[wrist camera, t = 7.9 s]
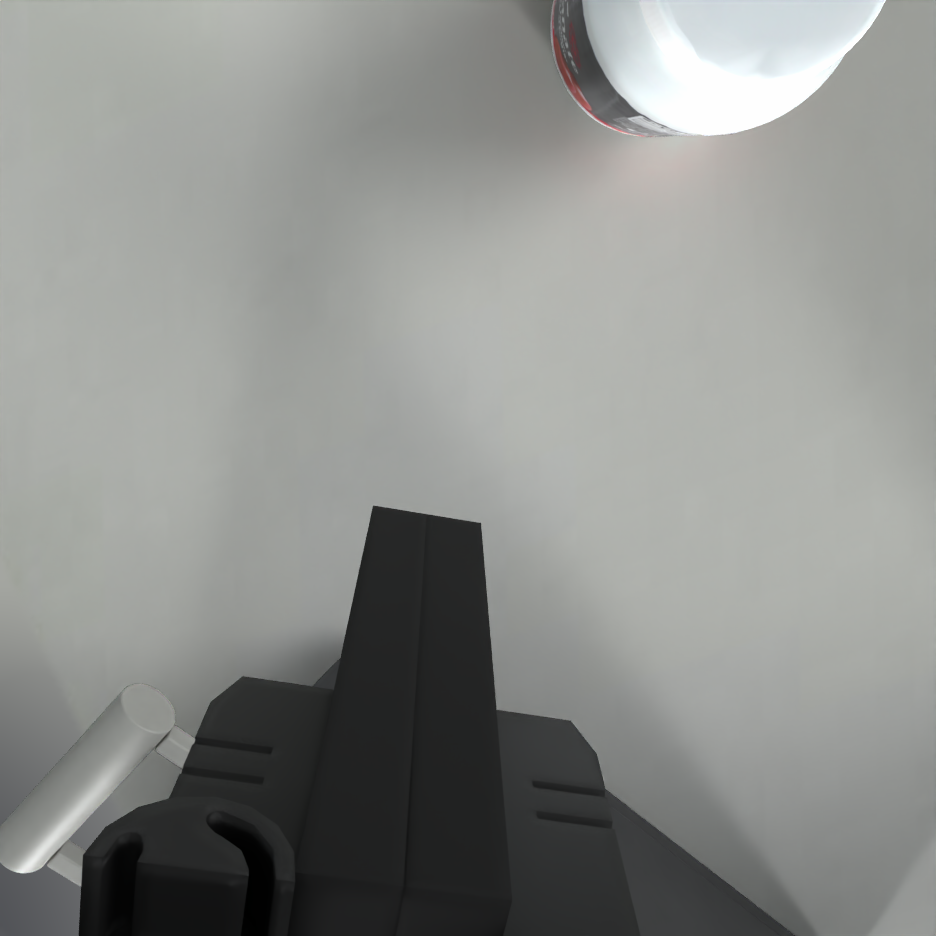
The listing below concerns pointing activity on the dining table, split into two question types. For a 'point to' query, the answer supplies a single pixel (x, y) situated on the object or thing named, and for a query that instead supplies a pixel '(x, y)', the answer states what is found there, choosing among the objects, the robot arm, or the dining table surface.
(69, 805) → the pulled-out drawer
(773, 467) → the dining table surface
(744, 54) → the pill bottle
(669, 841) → the grey drawer box
